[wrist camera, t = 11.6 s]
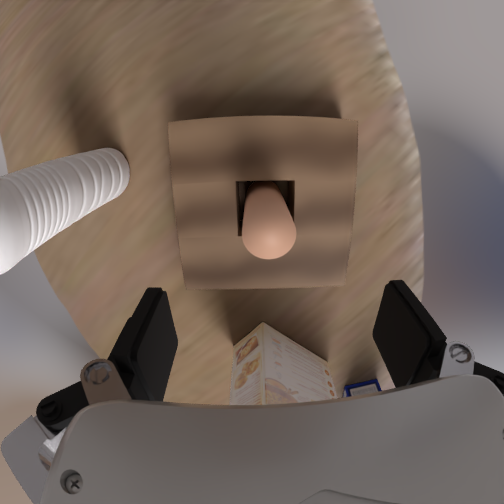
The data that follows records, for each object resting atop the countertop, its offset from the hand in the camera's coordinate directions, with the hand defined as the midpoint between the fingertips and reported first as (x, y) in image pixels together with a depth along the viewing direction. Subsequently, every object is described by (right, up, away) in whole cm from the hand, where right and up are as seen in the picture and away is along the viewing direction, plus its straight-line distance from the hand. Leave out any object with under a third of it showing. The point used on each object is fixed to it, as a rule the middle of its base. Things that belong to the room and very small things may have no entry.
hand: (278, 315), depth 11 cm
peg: (0, +9, +20) cm, 22 cm away
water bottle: (-20, +12, +19) cm, 30 cm away
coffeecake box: (+4, -14, +31) cm, 34 cm away
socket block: (0, +9, +20) cm, 22 cm away
